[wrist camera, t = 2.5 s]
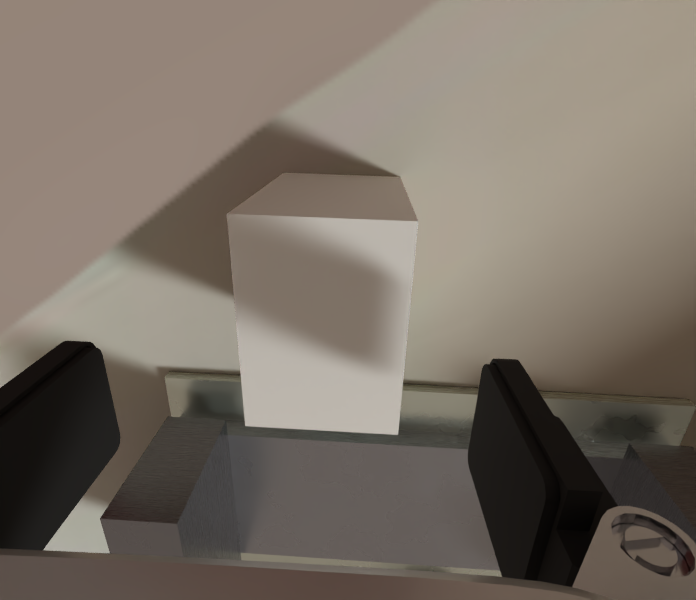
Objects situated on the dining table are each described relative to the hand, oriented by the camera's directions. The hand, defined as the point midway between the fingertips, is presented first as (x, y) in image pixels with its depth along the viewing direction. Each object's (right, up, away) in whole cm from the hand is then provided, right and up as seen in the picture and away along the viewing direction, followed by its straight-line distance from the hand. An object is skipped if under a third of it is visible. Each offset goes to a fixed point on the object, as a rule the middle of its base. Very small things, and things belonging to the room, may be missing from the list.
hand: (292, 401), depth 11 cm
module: (+1, +5, +9) cm, 10 cm away
